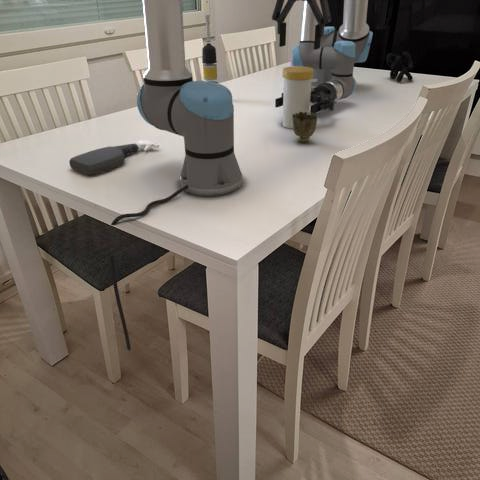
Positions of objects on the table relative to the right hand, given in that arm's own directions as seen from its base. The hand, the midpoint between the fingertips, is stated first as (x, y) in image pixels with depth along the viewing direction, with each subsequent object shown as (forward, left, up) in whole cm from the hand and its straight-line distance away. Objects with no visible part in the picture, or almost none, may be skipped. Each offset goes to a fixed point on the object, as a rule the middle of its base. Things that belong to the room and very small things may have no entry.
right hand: (293, 106), depth 143 cm
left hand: (-2, +1, +17) cm, 18 cm away
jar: (-2, +1, -7) cm, 7 cm away
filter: (-28, -38, -7) cm, 48 cm away
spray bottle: (+39, -43, -7) cm, 58 cm away
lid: (-2, +1, +11) cm, 11 cm away
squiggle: (-76, +36, -7) cm, 84 cm away
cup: (+14, +6, -7) cm, 16 cm away
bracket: (-86, -10, -7) cm, 87 cm away
